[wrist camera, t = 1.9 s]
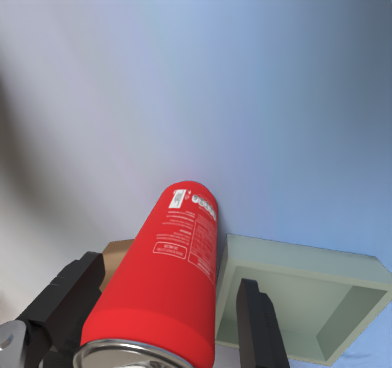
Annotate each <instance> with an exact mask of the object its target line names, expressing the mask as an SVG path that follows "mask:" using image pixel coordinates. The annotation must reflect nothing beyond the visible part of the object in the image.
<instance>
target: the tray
mask: <svg viewBox="0 0 392 368" xmlns="http://www.w3.org/2000/svg"><path fill="white" fill-rule="evenodd" d="M242 278H246V279H252V280H256V281H257V283H258V287H259V292H262V293H267V295H268V297H269V298H270V300H271V301H272V303H273V306H274V309H275V313H276V318H277V321H278V324H279V328H280V332H281V335H282V339H283V343H284V347H285V350H286V354H287V358H289V359H294V360H299V361H304V362H309V363H314V364H319V365H325V366H331V365H332V364H333V363H334V362H335V361H336V360H337V359H338V358H339V357H340V356H341V355H342V353H343V352H344V351H345V350H346V349H347V348H348V347H349V346H350V345H351V344H352V343H353V342H354V340H355V339H356V338H357V337H358V336H359V335H360V334H361V333H362V332H363V331H364V330H365V329H366V327H367V326H368V325H369V324H370V323H371V322H372V321H373V320H374V319H375V318H376V317H377V316H378V314H379V313H380V312H381V311H382V310H383V309H384V308H385V307H386V306H387V305H388V304H389V303H390V301H391V300H392V273H391V272H390V271H389V270H388V269H387V268H386V267H385V266H384V265H383V264H382V263H381V262H380V261H379V260H378V259H377V258H376V257H373V256H367V255H360V254H354V253H348V252H341V251H335V250H328V249H322V248H316V247H309V246H303V245H296V244H290V243H284V242H277V241H271V240H264V239H258V238H252V237H245V236H239V235H233V234H227V236H226V241H225V245H224V250H223V254H222V259H221V263H220V268H219V272H218V277H217V281H216V313H215V344H218V345H223V346H228V347H233V348H238V349H239V339H238V327H237V315H236V296H237V293H238V289H239V286H240V283H241V279H242Z"/></svg>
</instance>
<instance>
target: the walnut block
mask: <svg viewBox="0 0 392 368" xmlns="http://www.w3.org/2000/svg"><path fill="white" fill-rule="evenodd" d="M134 240H135V239H131V240H123V241H115V242H110V243H109V244H108V246H107V247H106V248H105V250H104V251H103V252H102V254H103V258H104V265H105V271H106V273H105V278H104V280H103V282H102V284H101V286H100V287H99V289H100V291H101V292H102V293H103V291H104V290H105V288H106V286H107V285H108V283H109V281H110V280H111V278H112V276H113V275H114V273H115V271H116V270H117V268H118V266H119V265H120V263H121V261H122V260H123V258H124V256H125V255H126V253H127V251H128V250H129V248H130V246H131V245H132V243H133V241H134Z"/></svg>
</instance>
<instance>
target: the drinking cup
mask: <svg viewBox="0 0 392 368" xmlns="http://www.w3.org/2000/svg"><path fill="white" fill-rule="evenodd" d="M101 295H102V292H101V291H100V289H98V290H97V292H96V293H95V295H94V296H93V298H92V300H91V301H90V303H89V304H88V306H87V307H86V309H85V310H84V312H83V314H82V315H81V317H80V318H79V320H78V321H77V323H76V324H75V326H74V328H73V329H72V331H71V332H70V334H69V335H68V337H67V338H66V340H65V341H64V343H63V345H62V346H61V348H60V349H59V351H58V352H55V351H50V350H49V351H48V352H47V354H46V355H45V357H44V358H43V366H42V368H74V366H73V356H74V354H75V352H76V351H77V349H78V348H79V347H80V345H81V337H82V329H83V325H84V323H85V321H86V319H87V318H88V316H89V314H90V313H91V311H92V309H93V308H94V306H95V305H96V303H97V301H98V300H99V298H100V296H101Z"/></svg>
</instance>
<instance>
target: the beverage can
mask: <svg viewBox="0 0 392 368" xmlns="http://www.w3.org/2000/svg"><path fill="white" fill-rule="evenodd" d="M217 213H218V208H217V203H216V200H215V198H214V196H213V195H212V194H211V192H210V191H209V190H208V189H207V188H206V187H205V186H204V185H202V184H200V183H198V182H195V181H182V182H179V183H175V184H173V185H171V186H169V187H168V188H167V189H165V191H164V192H163V193H162V195H161V196H160V198H159V200H158V201H157V203H156V205H155V206H154V208H153V210H152V211H151V213H150V215H149V216H148V218H147V220H146V221H145V223H144V225H143V226H142V228H141V230H140V231H139V233H138V235H137V236H136V238H135V240H134V241H133V243H132V245H131V246H130V248H129V250H128V251H127V253H126V255H125V256H124V258H123V260H122V261H121V263H120V265H119V266H118V268H117V270H116V271H115V273H114V275H113V276H112V278H111V280H110V281H109V283H108V285H107V286H106V288H105V290H104V291H103V293H102V295H101V296H100V298H99V300H98V301H97V303H96V305H95V306H94V308H93V309H92V311H91V313H90V314H89V316H88V318H87V319H86V321H85V323H84V325H83V329H82V337H81V345H80V347H79V348H78V349H77V351H76V352H75V354H74V356H73V366H74V368H212V367H213V364H214V359H215V313H216V263H217Z"/></svg>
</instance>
